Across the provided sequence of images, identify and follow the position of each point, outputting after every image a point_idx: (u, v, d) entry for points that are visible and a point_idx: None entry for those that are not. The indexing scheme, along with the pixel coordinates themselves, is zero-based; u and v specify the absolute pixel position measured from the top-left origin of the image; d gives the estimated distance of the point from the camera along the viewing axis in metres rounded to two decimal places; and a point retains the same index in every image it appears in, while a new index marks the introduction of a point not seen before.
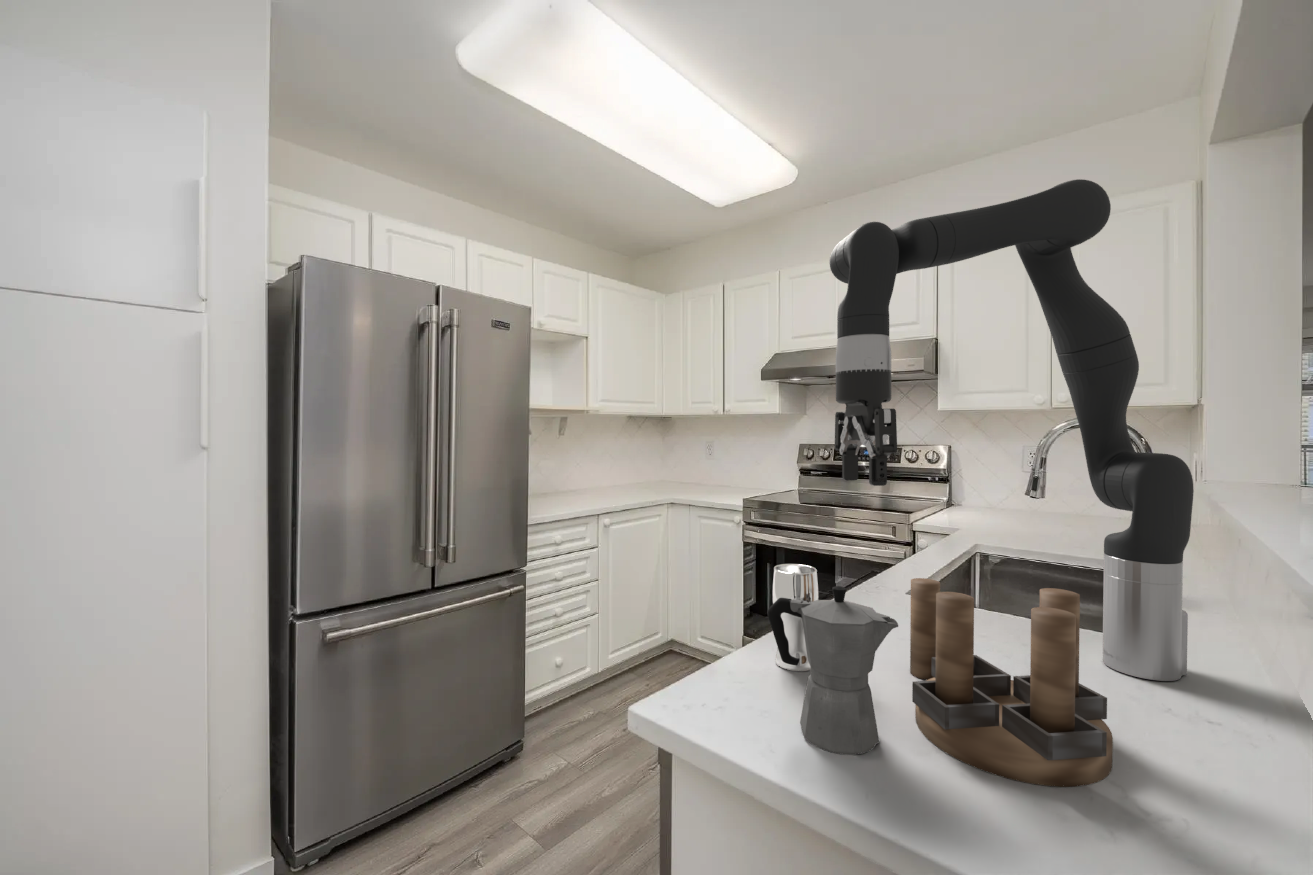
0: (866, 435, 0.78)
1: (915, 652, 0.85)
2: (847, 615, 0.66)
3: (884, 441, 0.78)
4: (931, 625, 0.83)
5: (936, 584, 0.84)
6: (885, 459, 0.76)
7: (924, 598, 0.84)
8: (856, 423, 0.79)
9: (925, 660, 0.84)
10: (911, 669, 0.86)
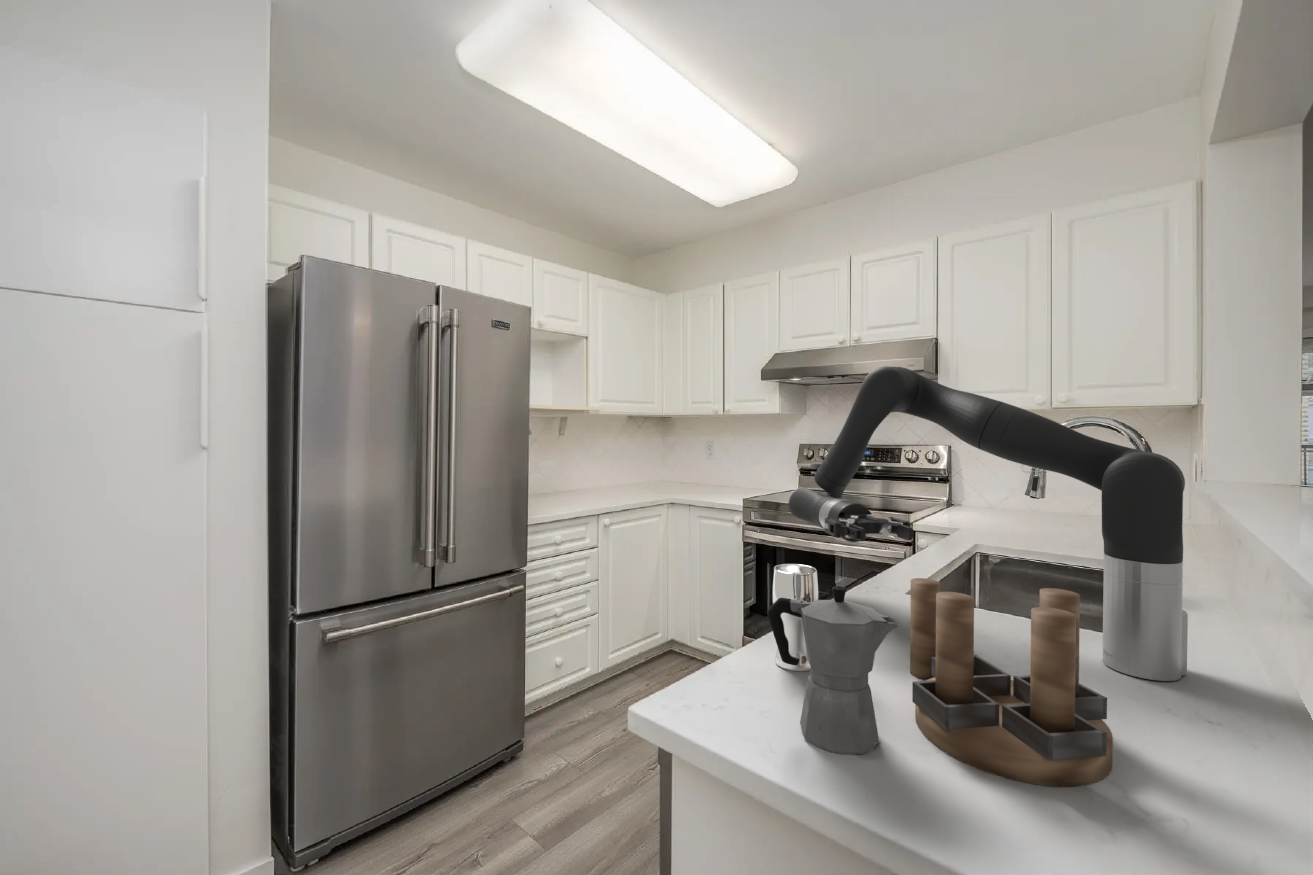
0: None
1: (915, 652, 0.85)
2: (847, 615, 0.66)
3: (847, 523, 1.02)
4: (931, 625, 0.83)
5: (936, 584, 0.84)
6: (847, 528, 0.99)
7: (924, 598, 0.84)
8: None
9: (925, 660, 0.84)
10: (911, 669, 0.86)
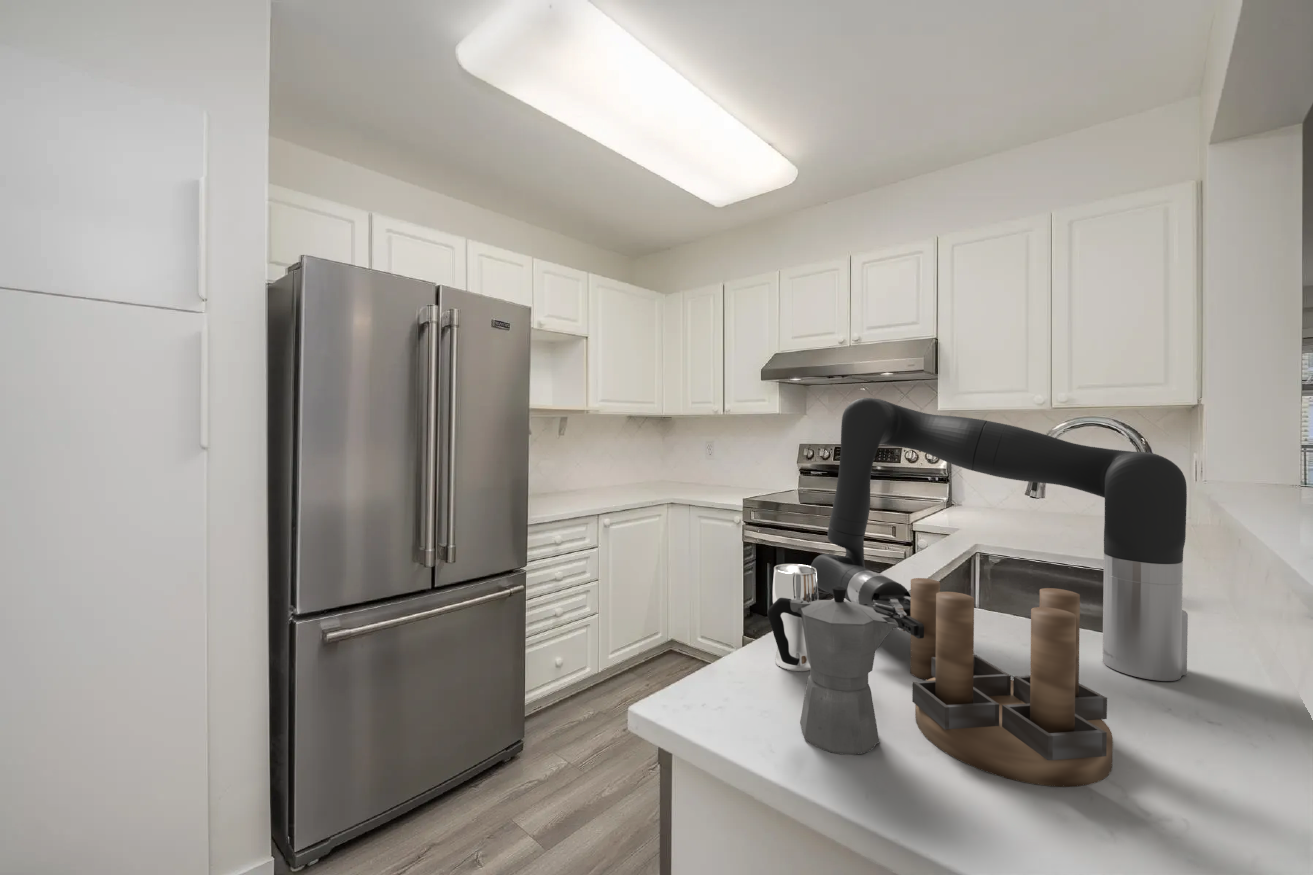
0: None
1: (916, 652, 0.85)
2: (847, 615, 0.66)
3: (895, 612, 0.88)
4: (931, 625, 0.84)
5: (936, 584, 0.84)
6: (901, 620, 0.86)
7: (924, 598, 0.84)
8: None
9: (925, 660, 0.84)
10: (911, 669, 0.86)
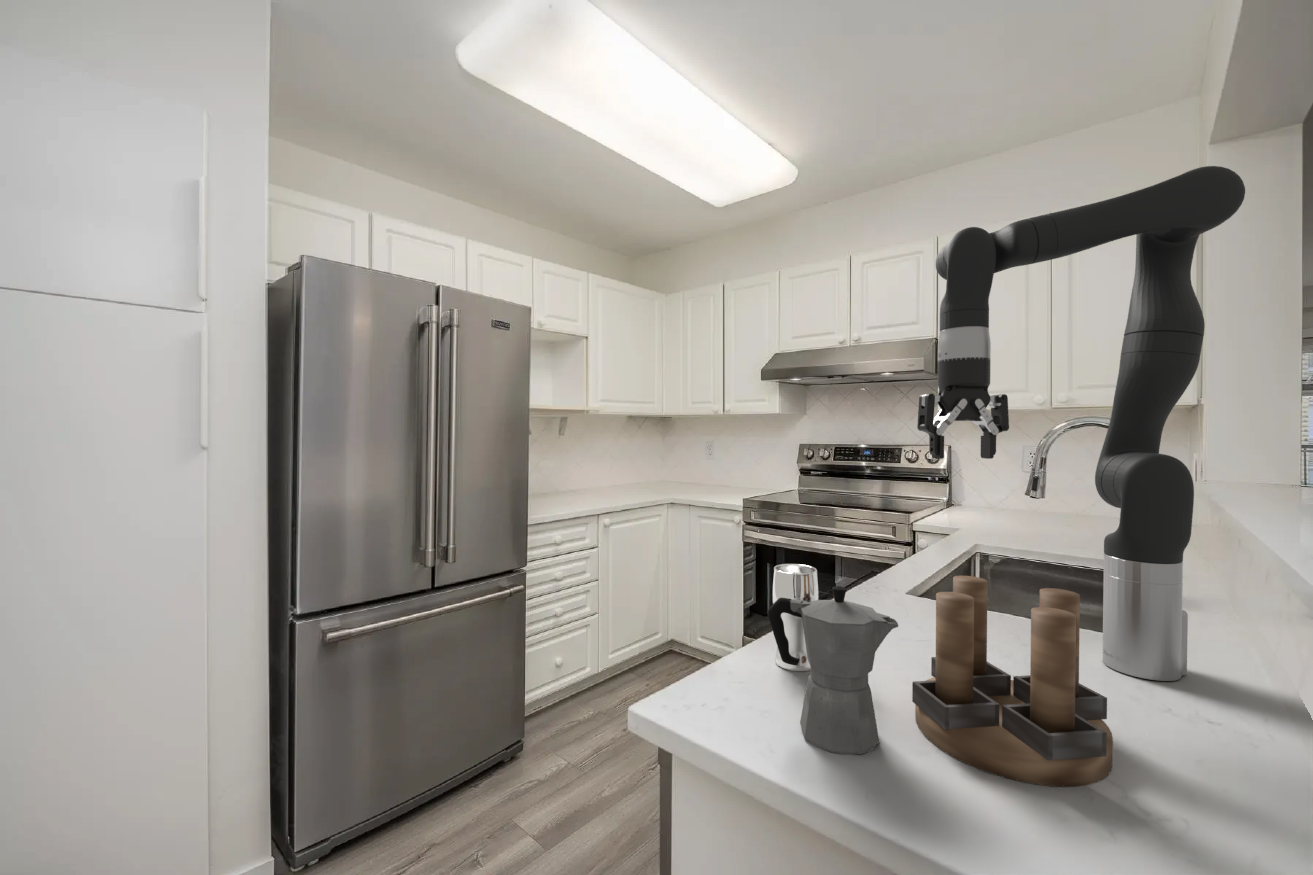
0: (937, 416, 0.93)
1: None
2: (847, 615, 0.66)
3: (941, 421, 0.91)
4: (978, 629, 0.73)
5: (983, 582, 0.74)
6: (933, 436, 0.91)
7: None
8: None
9: None
10: None
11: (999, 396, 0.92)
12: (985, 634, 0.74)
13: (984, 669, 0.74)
